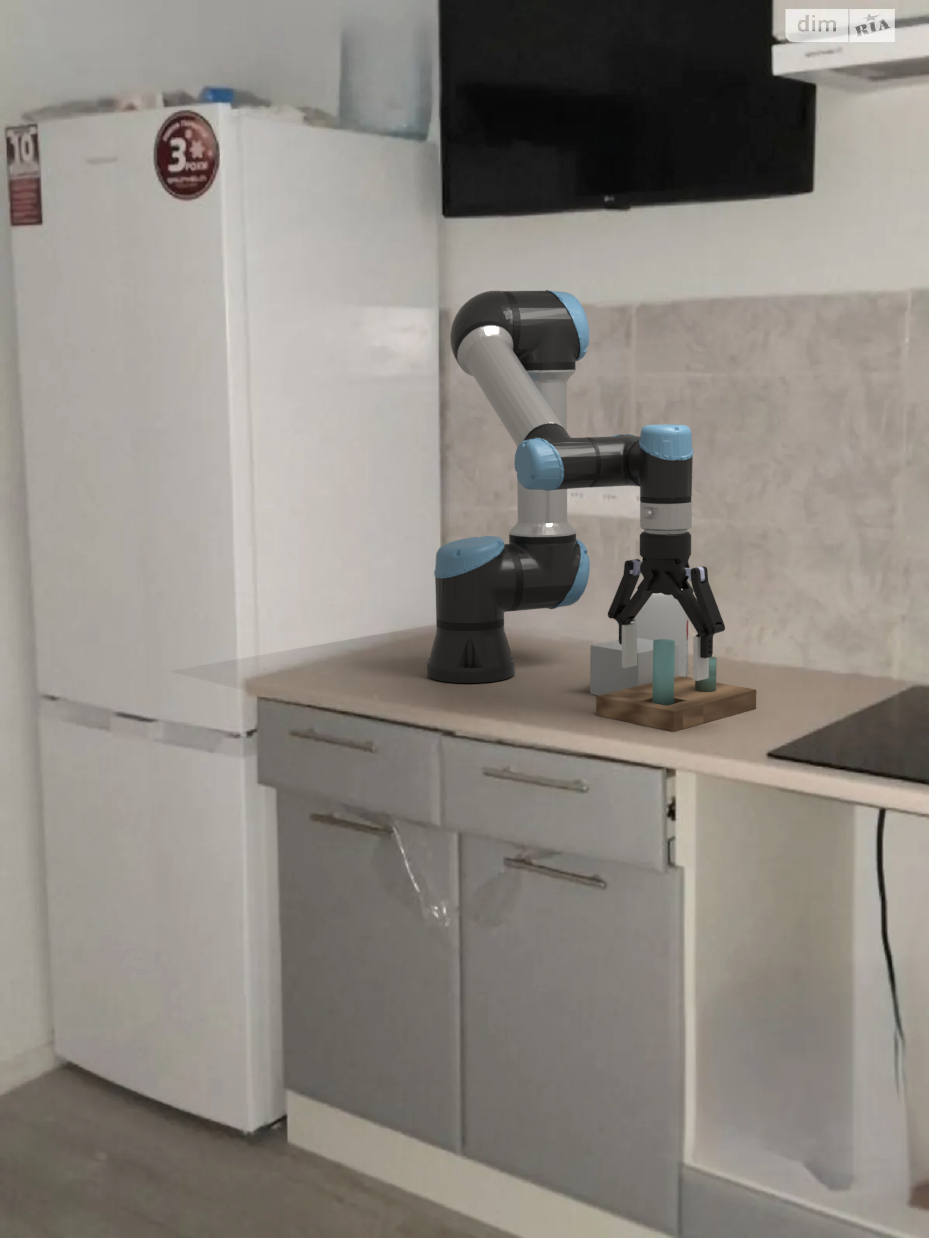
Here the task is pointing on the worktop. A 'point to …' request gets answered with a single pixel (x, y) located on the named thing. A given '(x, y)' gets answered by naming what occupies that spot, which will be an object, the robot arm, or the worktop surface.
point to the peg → (663, 671)
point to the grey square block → (609, 666)
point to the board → (678, 703)
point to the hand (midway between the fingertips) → (664, 672)
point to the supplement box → (665, 624)
